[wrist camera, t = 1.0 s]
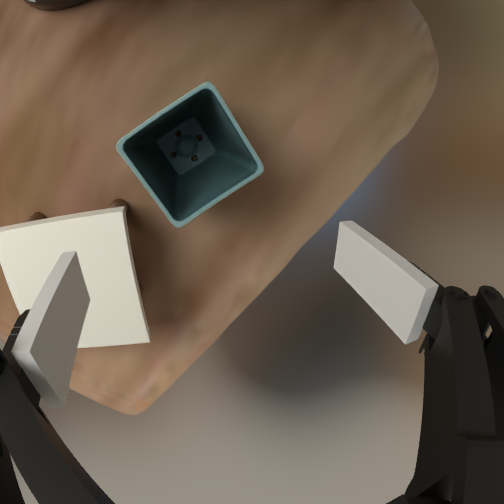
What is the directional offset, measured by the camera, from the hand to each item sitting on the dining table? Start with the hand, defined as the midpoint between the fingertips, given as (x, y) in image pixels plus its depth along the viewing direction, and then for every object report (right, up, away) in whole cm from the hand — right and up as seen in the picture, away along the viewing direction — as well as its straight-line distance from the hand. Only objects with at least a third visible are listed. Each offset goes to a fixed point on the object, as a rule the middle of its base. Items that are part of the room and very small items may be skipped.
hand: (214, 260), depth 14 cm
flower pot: (-5, +11, +16) cm, 20 cm away
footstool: (-18, 0, +17) cm, 25 cm away
